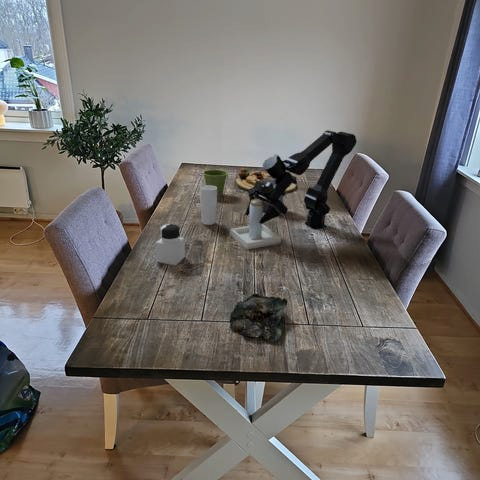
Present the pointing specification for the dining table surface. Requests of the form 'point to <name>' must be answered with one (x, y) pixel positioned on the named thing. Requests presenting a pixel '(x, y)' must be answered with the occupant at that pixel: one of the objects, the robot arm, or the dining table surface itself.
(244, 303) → the decorative rock
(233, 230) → the white square dish
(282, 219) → the dining table surface
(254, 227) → the spice jar
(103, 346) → the dining table surface
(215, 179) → the plant pot
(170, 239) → the medicine bottle
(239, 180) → the wooden plate with food
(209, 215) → the drinking glass
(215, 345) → the dining table surface
